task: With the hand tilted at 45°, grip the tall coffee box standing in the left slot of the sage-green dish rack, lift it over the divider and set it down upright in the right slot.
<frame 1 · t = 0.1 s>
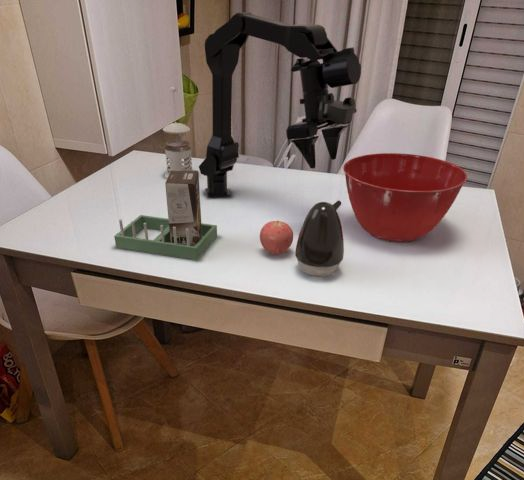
hand: (323, 163, 118), 15 cm above the table, tool pointing down, fingers open, 9 cm apart
dish rack: (168, 242, 118), on the table
apple: (276, 253, 115), on the table
mixing bowl: (392, 231, 126), on the table
coffee box: (187, 246, 117), resting in dish rack
pump dispenser: (317, 271, 108), on the table
french press: (180, 174, 157), on the table
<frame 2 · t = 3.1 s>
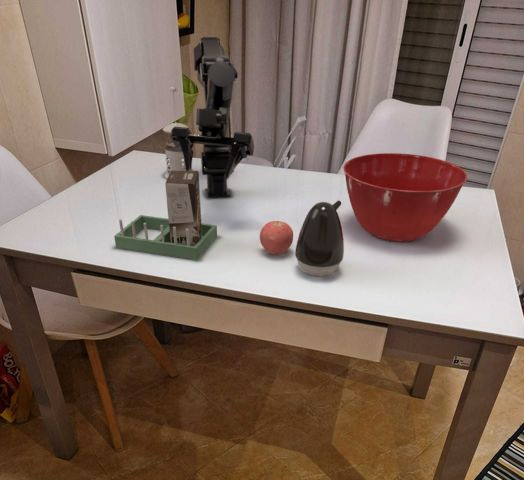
hand: (207, 176, 114), 14 cm above the table, tool tilted 40°, fingers open, 9 cm apart
nothing on the table moved.
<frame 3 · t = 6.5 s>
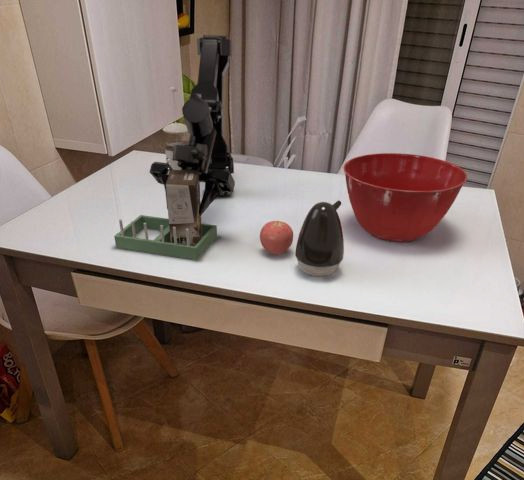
hand: (184, 212, 111), 8 cm above the table, tool tilted 45°, fingers closed on coffee box, 7 cm apart
coffee box: (187, 245, 117), resting in dish rack, touching gripper
everything else where it was.
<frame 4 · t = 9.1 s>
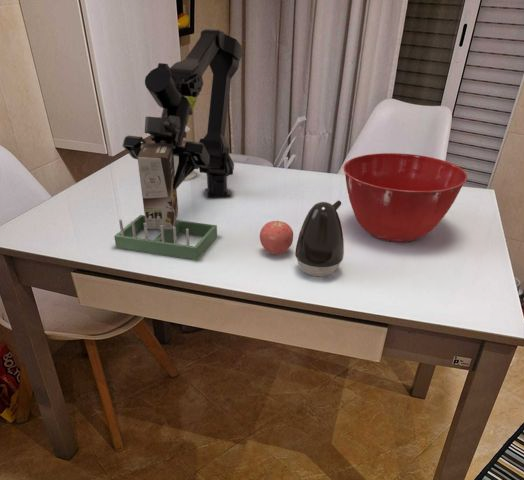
hand: (158, 186, 110), 13 cm above the table, tool tilted 45°, fingers closed on coffee box, 7 cm apart
coffee box: (163, 221, 115), point 5 cm above the table, touching gripper
everything else where it was.
when the fingers open (8 cm above the table, at t = 11.7 s): coffee box stays where it is, resting in dish rack.
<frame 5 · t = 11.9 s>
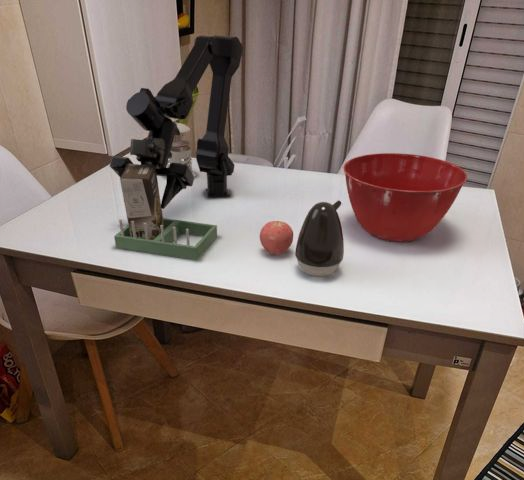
hand: (143, 205, 113), 8 cm above the table, tool tilted 45°, fingers open, 9 cm apart
coffee box: (149, 238, 119), resting in dish rack, touching gripper
everything else where it was.
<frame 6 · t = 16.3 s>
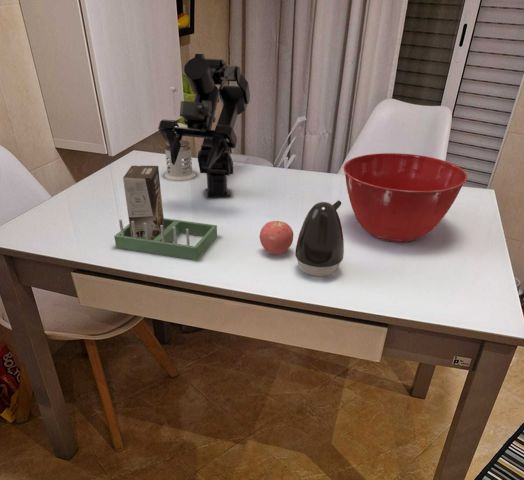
hand: (190, 165, 121), 14 cm above the table, tool tilted 45°, fingers open, 9 cm apart
coffee box: (149, 239, 119), resting in dish rack
everything else where it was.
at the end: coffee box 0.3 cm from the target spot on the dish rack, point 0.0 cm above the dish rack's base; coffee box tilted 0°; the gripper is holding nothing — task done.
